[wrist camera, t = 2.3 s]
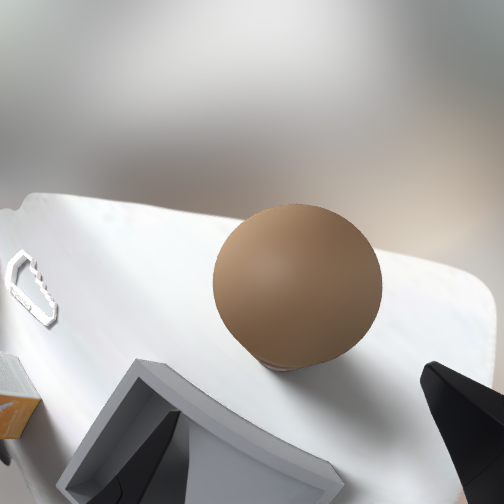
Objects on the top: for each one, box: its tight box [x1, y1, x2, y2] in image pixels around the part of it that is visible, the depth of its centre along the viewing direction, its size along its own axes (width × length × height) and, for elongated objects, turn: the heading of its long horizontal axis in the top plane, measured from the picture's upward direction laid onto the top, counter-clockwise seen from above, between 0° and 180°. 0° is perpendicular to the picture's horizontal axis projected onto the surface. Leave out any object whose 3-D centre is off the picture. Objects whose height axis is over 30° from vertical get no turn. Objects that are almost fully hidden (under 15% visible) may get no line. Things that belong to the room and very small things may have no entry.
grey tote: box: [56, 359, 345, 504], centre depth 12 cm, size 15×15×5 cm
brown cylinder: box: [213, 204, 382, 371], centre depth 14 cm, size 5×5×13 cm
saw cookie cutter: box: [5, 250, 57, 326], centre depth 23 cm, size 13×5×2 cm, turn 68°
